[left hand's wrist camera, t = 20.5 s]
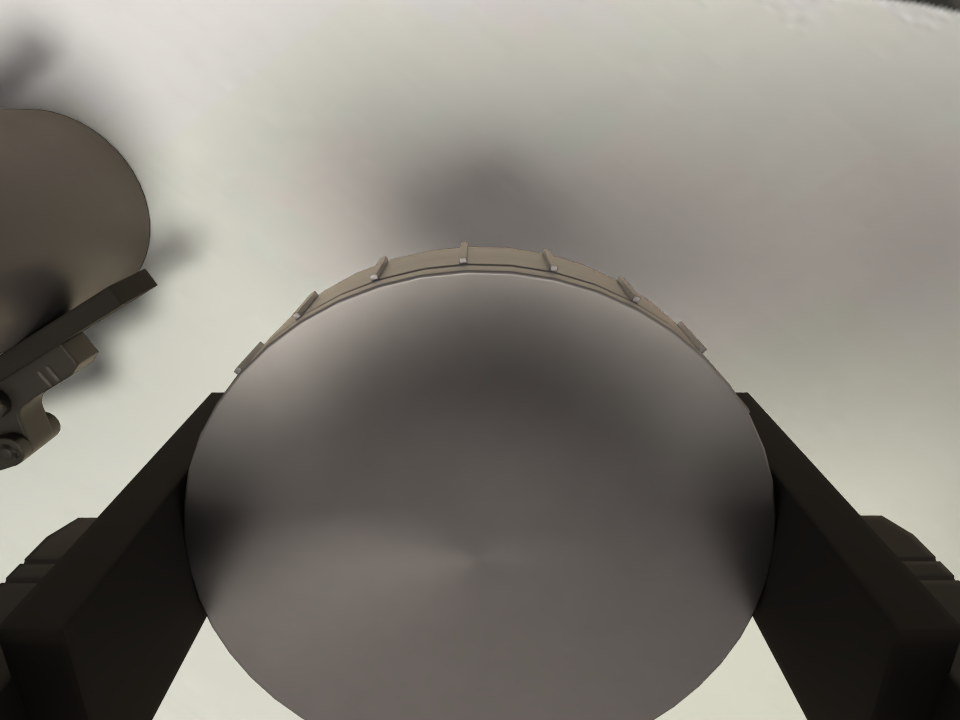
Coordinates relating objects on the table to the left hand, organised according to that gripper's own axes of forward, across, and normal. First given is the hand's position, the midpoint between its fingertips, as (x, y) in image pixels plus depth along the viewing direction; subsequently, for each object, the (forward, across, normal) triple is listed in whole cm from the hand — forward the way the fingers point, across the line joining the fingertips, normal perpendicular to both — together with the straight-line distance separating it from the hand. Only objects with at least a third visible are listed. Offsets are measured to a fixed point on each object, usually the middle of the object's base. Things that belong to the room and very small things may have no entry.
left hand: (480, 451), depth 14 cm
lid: (-3, 0, 0) cm, 3 cm away
